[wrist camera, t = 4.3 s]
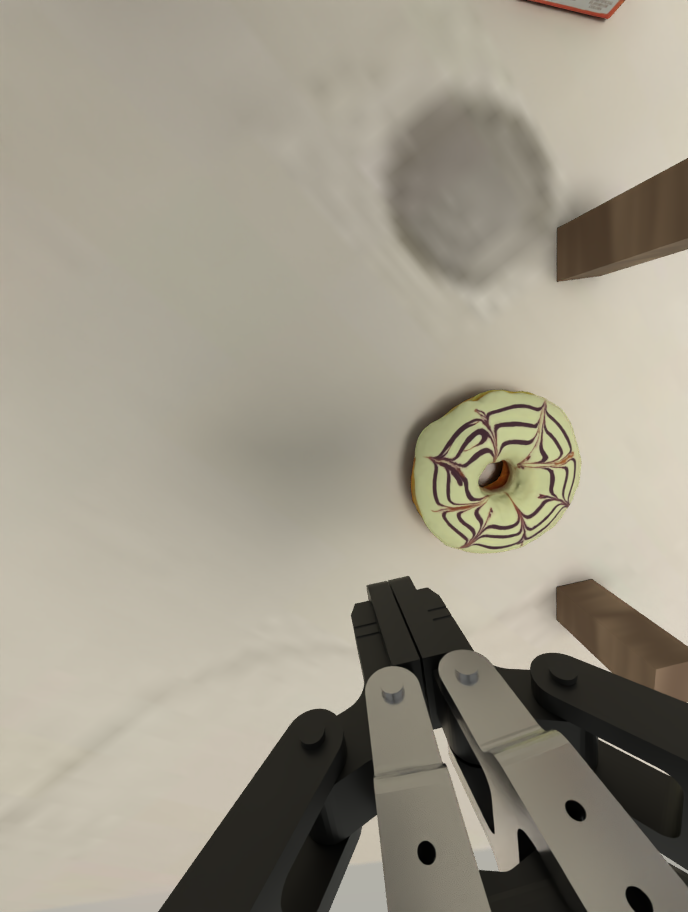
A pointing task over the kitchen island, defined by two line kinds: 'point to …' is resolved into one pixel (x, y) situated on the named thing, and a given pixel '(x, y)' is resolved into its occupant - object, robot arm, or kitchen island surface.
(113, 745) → the kitchen island surface
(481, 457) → the decorated donut
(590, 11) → the cracker box
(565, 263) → the posts
